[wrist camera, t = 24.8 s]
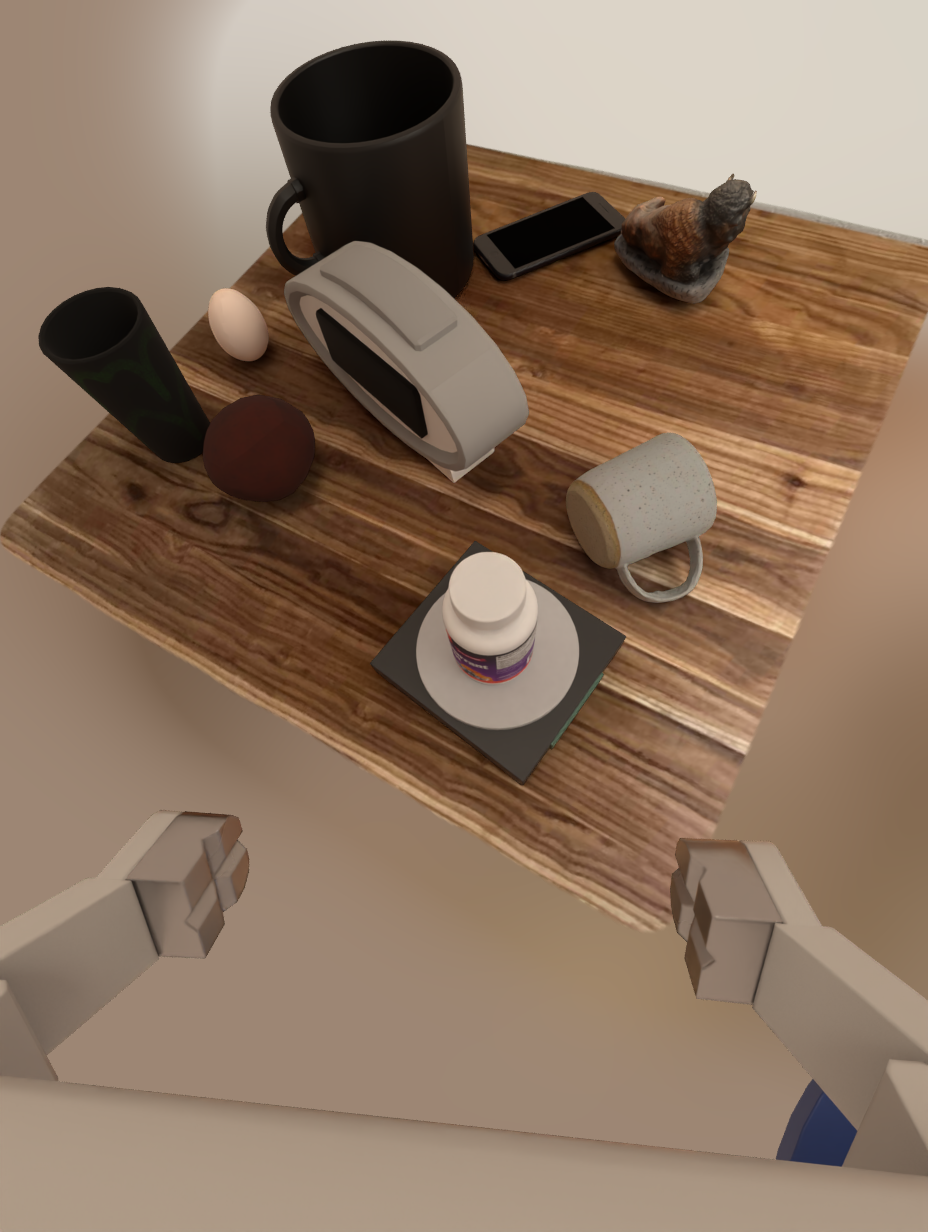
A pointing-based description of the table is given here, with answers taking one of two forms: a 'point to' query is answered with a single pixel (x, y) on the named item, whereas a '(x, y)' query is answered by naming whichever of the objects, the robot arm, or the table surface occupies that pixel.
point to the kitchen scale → (514, 711)
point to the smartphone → (548, 235)
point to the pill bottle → (490, 618)
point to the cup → (126, 369)
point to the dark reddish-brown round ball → (259, 449)
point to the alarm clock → (409, 355)
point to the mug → (377, 158)
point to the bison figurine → (685, 240)
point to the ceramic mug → (645, 509)
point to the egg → (238, 325)
